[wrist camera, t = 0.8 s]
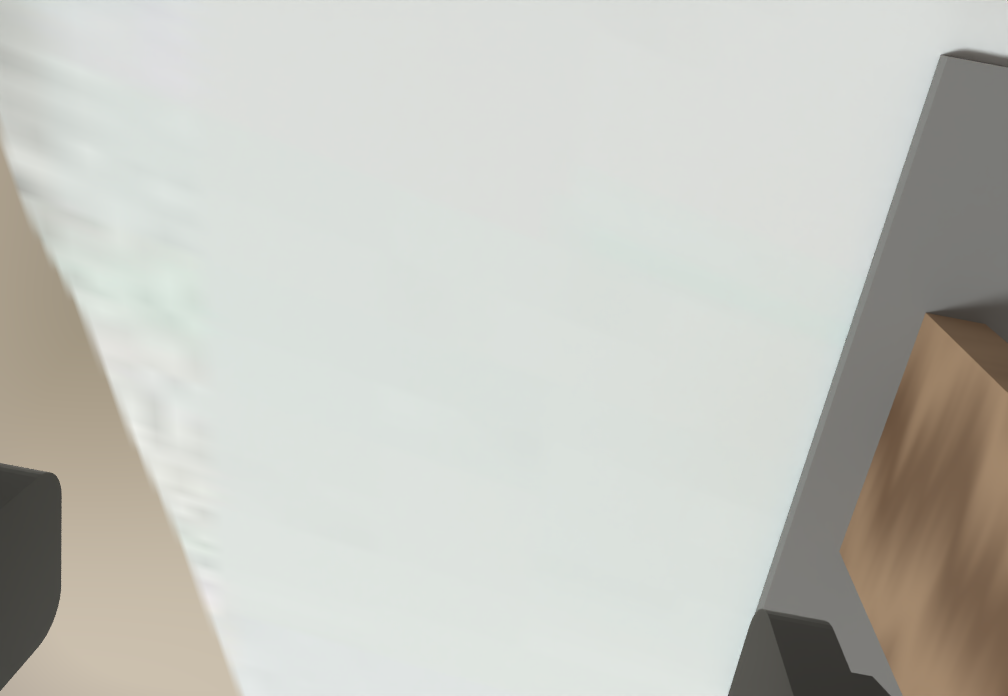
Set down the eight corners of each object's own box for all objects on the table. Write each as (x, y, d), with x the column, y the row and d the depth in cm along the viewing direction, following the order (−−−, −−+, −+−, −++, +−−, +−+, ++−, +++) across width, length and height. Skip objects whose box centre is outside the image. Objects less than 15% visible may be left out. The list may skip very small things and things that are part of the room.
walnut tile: (925, 312, 29) (1158, 539, 17) (994, 325, 29) (1276, 562, 17) (839, 551, 33) (984, 881, 21) (901, 563, 33) (1082, 901, 21)
